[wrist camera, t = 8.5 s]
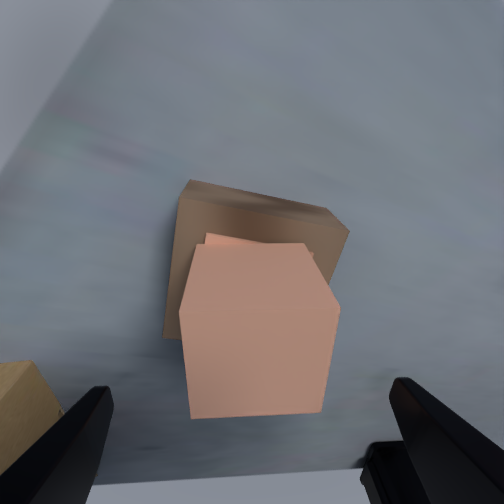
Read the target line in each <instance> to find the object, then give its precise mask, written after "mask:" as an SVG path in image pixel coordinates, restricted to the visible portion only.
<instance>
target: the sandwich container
mask: <svg viewBox="0 0 504 504" xmlns="http://www.w3.org/2000/svg"><path fill="white" fill-rule="evenodd" d="M59 410H60V411H59ZM64 414H65V413H64V411H63V409H62V407H61V405H60V403H59V402H58V400H57V399H56V397H55V395H54V394H53V392H52V391H51V389H50V388H49V386H48V384H47V383H46V381H45V380H44V378H43V376H42V375H41V373H40V372H39V370H38V369H37V367H36V365H35V364H34V362H33V361H32V360H28V361H19V362H9V363H0V475H1V474H2V473H3V472H4V471H5V470H6V469H7V468H8V467H9V466H10V465H11V464H13V463H14V462H15V461H16V460H17V459H18V458H19V457H20V456H21V455H22V454H23V453H24V452H25V451H26V450H27V449H28V448H29V447H30V446H31V445H32V444H34V443H35V442H36V441H37V440H38V439H39V438H40V437H41V436H42V435H43V434H44V433H45V432H46V431H47V430H48V429H49V428H50V427H51V426H52V425H53V424H55V423H56V422H57V421H58V420H59V419H60V418H61V417H62V416H63V415H64ZM96 476H98V475H97V473H96ZM96 476H95V477H96Z"/></svg>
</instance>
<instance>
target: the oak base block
mask: <svg viewBox="0 0 504 504" xmlns="http://www.w3.org/2000/svg"><path fill="white" fill-rule="evenodd" d="M349 232H350V231H349V230H348V229H347V228H346V227H345V226H344V225H343V224H342V223H341V222H340V221H339V220H338V219H337V218H336V217H335V216H334V215H333V214H332V213H331V212H330V211H329V210H328V209H327V208H324V207H319V206H314V205H310V204H305V203H300V202H295V201H290V200H286V199H281V198H276V197H271V196H267V195H262V194H257V193H252V192H248V191H243V190H238V189H233V188H229V187H224V186H219V185H214V184H210V183H205V182H200V181H195V180H191V179H190V180H189V182H188V184H187V185H186V187H185V189H184V190H183V192H182V193H181V195H180V197H179V203H178V211H177V219H176V228H175V236H174V244H173V253H172V261H171V269H170V277H169V286H168V294H167V302H166V311H165V319H164V327H163V335H162V338H167V339H176V340H182V335H181V326H180V317H179V310H180V306H181V302H182V298H183V295H184V291H185V287H186V283H187V279H188V275H189V272H190V268H191V264H192V260H193V256H194V253H195V249H196V245H197V244H260V243H304V244H305V246H306V247H307V249H308V251H309V253H310V254H311V256H312V258H313V260H314V262H315V263H316V265H317V267H318V269H319V270H320V272H321V274H322V276H323V277H324V279H325V281H326V283H327V284H328V285H329V282H330V280H331V277H332V275H333V272H334V270H335V267H336V264H337V262H338V259H339V257H340V254H341V252H342V249H343V247H344V244H345V242H346V239H347V237H348V234H349Z"/></svg>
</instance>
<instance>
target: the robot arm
mask: <svg viewBox="0 0 504 504" xmlns="http://www.w3.org/2000/svg"><path fill="white" fill-rule="evenodd" d="M389 400H390V404H391V407H392V409H393V412H394V415H395V418H396V421H397V424H398V426H399V429H400V432H401V435H402V438H403V440H404V442H385V443H375V444H373V445H372V446H371V449H370V452H369V455H368V457H367V460H366V463H365V465H364V468H363V471H362V474H361V476H360V481H361V483H362V485H364V487H365V489H366V492H367V495H368V498H369V501H370V503H371V504H504V450H503V449H501V448H500V447H499V446H498V445H496V444H495V443H494V442H492V441H491V440H490V439H488V438H487V437H486V436H485V435H483V434H482V433H481V432H479V431H478V430H477V429H475V428H474V427H473V426H472V425H470V424H469V423H468V422H466V421H465V420H464V419H463V418H461V417H460V416H459V415H457V414H456V413H455V412H453V411H452V410H451V409H450V408H448V407H447V406H446V405H444V404H443V403H442V402H441V401H439V400H438V399H437V398H435V397H434V396H433V395H431V394H430V393H429V392H428V391H426V390H425V389H424V388H422V387H421V386H420V385H419V384H417V383H416V382H415V381H413V380H412V379H410V378H408V377H397V378H396V379H395V380H394V382H393V385H392V388H391V390H390V393H389ZM113 409H114V403H113V399H112V395H111V391H110V388H109V387H108V386H95V387H93V388H91V389H90V390H89V391H88V392H87V393H86V394H85V395H84V396H83V397H82V398H81V399H80V400H79V401H78V402H77V403H76V404H74V405H73V406H72V407H71V408H70V409H69V410H68V411H67V412H66V413H65V414H64V415H63V416H62V417H61V418H60V419H59V420H58V421H57V422H56V423H55V424H53V425H52V426H51V427H50V428H49V429H48V430H47V431H46V432H45V433H44V434H43V435H42V436H41V437H40V438H39V439H38V440H37V441H36V442H35V443H34V444H32V445H31V446H30V447H29V448H28V449H27V450H26V451H25V452H24V453H23V454H22V455H21V456H20V457H19V458H18V459H17V460H16V461H15V462H14V463H13V464H11V465H10V466H9V467H8V468H7V469H6V470H5V471H4V472H3V473H2V474H1V475H0V504H85V503H86V500H87V497H88V495H89V492H90V489H91V487H92V484H93V481H94V479H95V476H96V473H97V470H98V467H99V463H100V459H101V456H102V452H103V448H104V444H105V441H106V437H107V433H108V429H109V425H110V421H111V418H112V414H113Z"/></svg>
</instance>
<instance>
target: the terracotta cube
mask: <svg viewBox="0 0 504 504" xmlns="http://www.w3.org/2000/svg"><path fill="white" fill-rule="evenodd" d="M340 310H341V307H340V305H339V304H338V302H337V300H336V298H335V297H334V295H333V293H332V291H331V290H330V288H329V286H328V284H327V283H326V281H325V279H324V277H323V276H322V274H321V272H320V270H319V269H318V267H317V265H316V263H315V262H314V260H313V258H312V256H311V254H310V253H309V251H308V249H307V247H306V246H305V244H304V243H260V244H197V245H196V249H195V253H194V256H193V260H192V264H191V268H190V272H189V275H188V279H187V283H186V287H185V291H184V295H183V298H182V302H181V306H180V310H179V317H180V326H181V335H182V344H183V353H184V361H185V370H186V379H187V388H188V397H189V406H190V415H191V419H204V418H224V417H243V416H263V415H283V414H302V413H321V410H322V404H323V399H324V394H325V389H326V383H327V378H328V373H329V368H330V362H331V357H332V352H333V347H334V341H335V336H336V331H337V326H338V320H339V315H340Z"/></svg>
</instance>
